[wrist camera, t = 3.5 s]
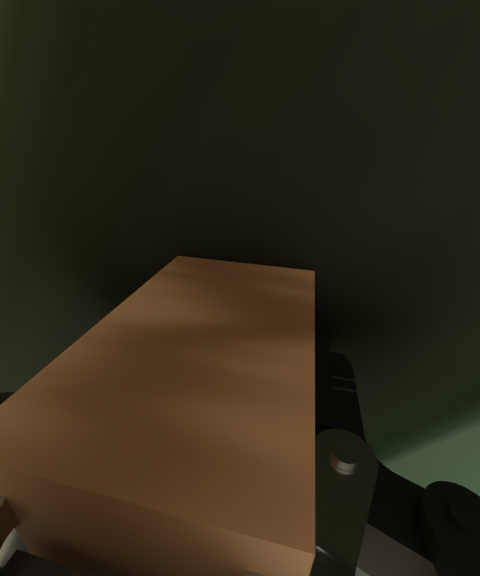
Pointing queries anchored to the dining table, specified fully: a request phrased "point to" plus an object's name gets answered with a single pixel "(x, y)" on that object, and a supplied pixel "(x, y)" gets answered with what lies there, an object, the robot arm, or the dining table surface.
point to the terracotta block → (175, 431)
